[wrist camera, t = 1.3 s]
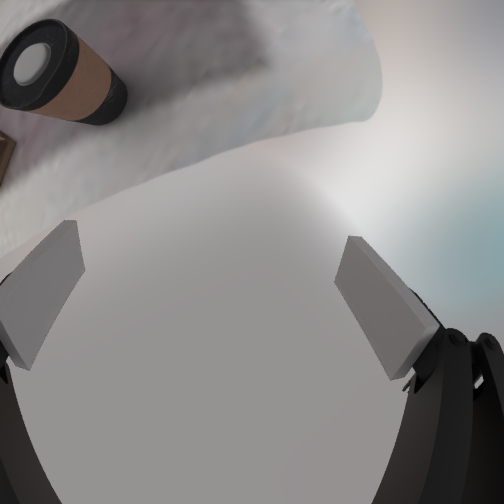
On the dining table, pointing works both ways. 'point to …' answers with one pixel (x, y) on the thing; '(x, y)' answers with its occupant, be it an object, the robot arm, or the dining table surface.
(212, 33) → the dining table surface
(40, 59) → the travel mug
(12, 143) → the fader rail
